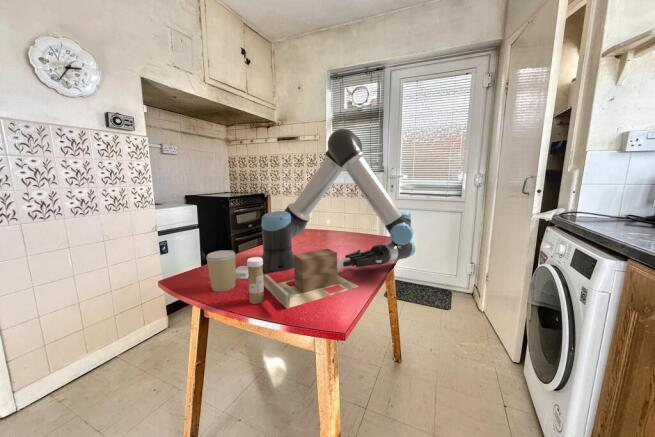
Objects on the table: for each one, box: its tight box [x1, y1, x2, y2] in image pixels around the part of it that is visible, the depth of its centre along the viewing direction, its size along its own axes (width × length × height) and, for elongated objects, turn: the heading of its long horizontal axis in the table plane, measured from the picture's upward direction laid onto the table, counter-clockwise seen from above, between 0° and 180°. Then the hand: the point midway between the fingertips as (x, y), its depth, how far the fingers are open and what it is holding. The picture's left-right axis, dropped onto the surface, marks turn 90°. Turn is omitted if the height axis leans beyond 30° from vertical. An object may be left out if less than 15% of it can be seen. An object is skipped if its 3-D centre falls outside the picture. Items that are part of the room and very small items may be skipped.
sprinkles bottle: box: [246, 256, 265, 305], centre depth 78 cm, size 5×5×14 cm
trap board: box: [263, 274, 360, 310], centre depth 85 cm, size 26×18×6 cm
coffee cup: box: [205, 249, 237, 293], centre depth 89 cm, size 9×9×12 cm
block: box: [293, 248, 338, 293], centre depth 86 cm, size 13×6×11 cm, turn 122°
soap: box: [235, 265, 249, 280], centre depth 101 cm, size 9×7×3 cm
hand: (334, 265), depth 88 cm, fingers closed
